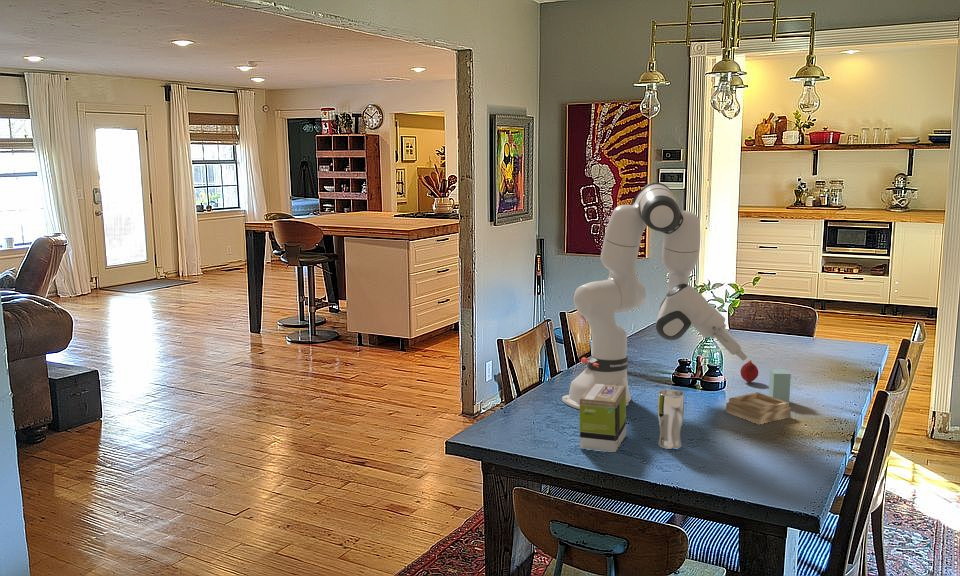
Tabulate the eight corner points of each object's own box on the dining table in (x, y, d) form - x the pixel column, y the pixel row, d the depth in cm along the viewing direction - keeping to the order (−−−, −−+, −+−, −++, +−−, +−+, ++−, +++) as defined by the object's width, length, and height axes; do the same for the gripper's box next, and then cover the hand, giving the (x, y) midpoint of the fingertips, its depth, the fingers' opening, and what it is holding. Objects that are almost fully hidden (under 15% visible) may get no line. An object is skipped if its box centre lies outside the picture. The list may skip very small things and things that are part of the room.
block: (772, 404, 247) (774, 373, 245) (768, 399, 252) (770, 369, 250) (789, 404, 246) (790, 374, 245) (784, 399, 251) (786, 369, 250)
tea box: (591, 431, 225) (592, 381, 223) (626, 435, 222) (627, 385, 219) (578, 450, 212) (579, 397, 209) (615, 454, 208) (616, 401, 206)
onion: (758, 385, 267) (760, 362, 265) (741, 384, 268) (742, 362, 267) (756, 380, 272) (757, 358, 271) (739, 379, 274) (740, 357, 272)
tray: (758, 424, 229) (759, 410, 228) (725, 412, 240) (726, 398, 239) (790, 417, 235) (791, 402, 234) (756, 405, 246) (757, 391, 245)
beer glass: (651, 446, 214) (652, 393, 211) (665, 439, 218) (667, 387, 216) (673, 452, 209) (675, 398, 206) (687, 445, 213) (689, 392, 211)
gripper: (724, 324, 236) (757, 356, 237) (712, 311, 256) (742, 340, 257) (709, 338, 238) (741, 370, 238) (698, 324, 258) (727, 353, 258)
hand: (741, 354), depth 248 cm, fingers open, 8 cm apart
